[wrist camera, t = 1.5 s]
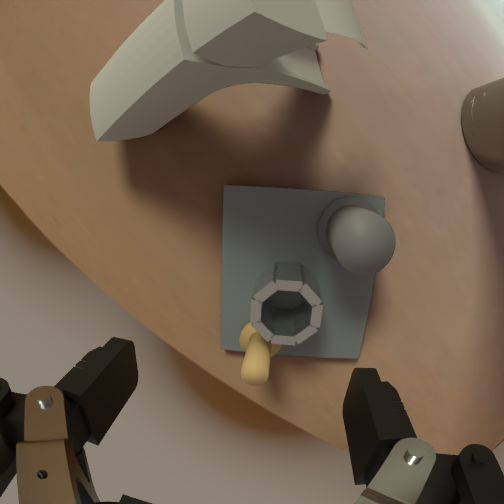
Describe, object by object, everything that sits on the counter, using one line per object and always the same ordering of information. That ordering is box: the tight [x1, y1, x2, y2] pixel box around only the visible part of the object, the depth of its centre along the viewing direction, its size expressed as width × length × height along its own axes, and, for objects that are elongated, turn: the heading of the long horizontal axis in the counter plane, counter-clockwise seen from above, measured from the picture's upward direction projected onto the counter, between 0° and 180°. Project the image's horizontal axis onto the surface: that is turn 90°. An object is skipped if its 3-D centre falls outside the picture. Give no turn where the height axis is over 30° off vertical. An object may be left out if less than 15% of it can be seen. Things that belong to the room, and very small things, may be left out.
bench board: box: [221, 185, 396, 386], centre depth 25 cm, size 14×16×8 cm
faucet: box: [90, 0, 367, 141], centre depth 20 cm, size 6×16×20 cm
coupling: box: [250, 261, 323, 345], centre depth 25 cm, size 5×5×5 cm
